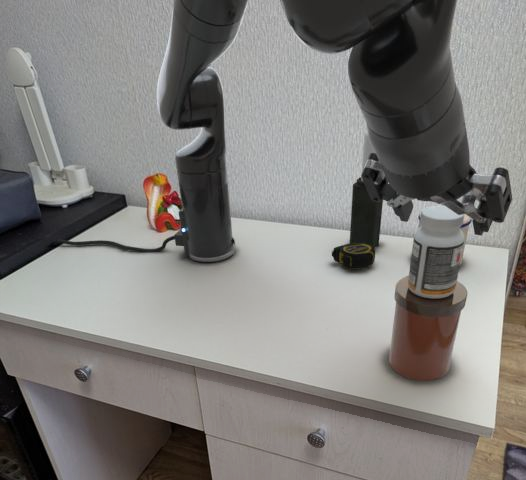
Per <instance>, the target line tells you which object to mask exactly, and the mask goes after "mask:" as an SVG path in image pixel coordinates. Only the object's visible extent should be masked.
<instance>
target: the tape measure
mask: <svg viewBox="0 0 526 480" xmlns="http://www.w3.org/2000/svg"><path fill="white" fill-rule="evenodd" d="M331 257H332V258H333V261H334V262H336V263H339V264H340V265H341V266H342V267H344V268H346V269H348V270H349V269H350V270H364V269H367V268H370V267H372V266H373V265H374V263H375V260H376V248H374V247H373V246H372V245H371V244H367V243H364V242H354V243H350V242H349V243H346V244H342V245H339V246H335V247H334V248H333V249H332V250H331Z"/></svg>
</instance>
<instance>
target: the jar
mask: <svg viewBox="0 0 526 480" xmlns="http://www.w3.org/2000/svg"><path fill="white" fill-rule="evenodd" d="M408 277H409V275H406V276H404V277H402V278H401V279H399V280H398V281H397V282H396V284H395V288H394V295H393V296H394V301H395V306H394V307H395V309H394V315H393V324H392V332H391V338H390V339H391V340H390V348H389V356H388V363H389V365H390V367H391V368H392V370H393V371H394V372H395V373H397V374H398V375H401V376H402V377H404V378H406V379H410V380H415V381H421V382H422V381H423V382H425V381H426V382H428V381H434V380H438V379H441V378H443V377H444V376H445V375H446V374H447V373H448V371H449V370H450V365H451V361H452V357H453V351H454V346H455V341H456V337H457V334H458V333H457V332H458V328H459V324H460V319H461V314H462V311H463V310H464V308H465V307H466V303H467V298H468V289H467V288H466V286H465V285H464V284H463V283H462V282H460V281H459V280H457V283H456V288H455V291H454V292H453V293H452V294H451V295H450V296H447V297H445V298H440V299H429V298H424V297H420V296H418V295H416V294H414V293H413V292H411V291H410V289H409V287H408Z"/></svg>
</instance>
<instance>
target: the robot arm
mask: <svg viewBox="0 0 526 480" xmlns="http://www.w3.org/2000/svg"><path fill="white" fill-rule="evenodd" d="M172 3H173V4H172V13H171V21H170V30H169V35H168V42H167V46H166V49H165V54H164V56H163V57H164V58H163V60H162V64H161V68H160V71H159V75H158V79H157V86H156V104H157V112H158V115H159V117H160V120H161V121H162V122H163V124H164V125H165V126H166V128H169V129H171V130H173V131H185V130H186V131H187V130H193V129H200V132H199V134H198V135H197V136H196V138H194V139H193V140H192V141H191V142H190V143H188V144H187V145H185V146H183V147H182V148H180V149H179V150H178V151H177V152H176V153H175V157H174V160H175V166H176V175H177V181H178V188H179V194H180V202H181V209H180V210H179V211H178V217H179V224H180V229H179V230H178V231H177V232H176V233H174V235H172V236H169V237H167V238H165V240H163V242H162V245H161V246H159V247H157V248H142V247H137V246H129V245H124V244H121V243H118V242H115V241H112V240H102V239H101V240H99V239H98V240H85V241H83V240H82V241H71V240H66V239H62V238H61V239H60V238H57V239H58V240H57V242H50V241H49V242H48V243H47V244H46V247H52V245H54V244H56V243H58V244H64V245H70V246H87V245H88V246H90V245H109V246H113V247H117V248H119V249H122V250H126V251H134V252H140V253H159V252H161V251H163V250H165V248H166V247H167V244H168V243H169V242H171V241H175V246H177V247H183V250H184V258H189V259H191V260H193V261H195V262H199V263H215V262H220V261H225V260H226V259H228V258H230V257H232V256H233V255H234V254H235V246H236V242H235V238H234V237H233V228H232V218H231V217H232V216H231V203H230V202H231V201H230V191H229V181H228V170H227V169H228V168H227V159H226V158H227V157H226V156H227V142H226V141H227V140H226V138H227V137H226V120H225V119H226V118H225V96H224V88H223V84H222V80H221V77H220V76H219V73H218V72H217V70H216V69H215V68H213V67H211V65H213V64H214V63H215V62H216V61H217V60H218V59H219V58H221V57H222V56H223V55H224V53H226V52H227V50H228V49H230V47H231V45H232V44H233V43H234V42H235V40H236V38H237V36H238V34H239V31H240V29H241V25H242V23H243V19H244V16H245V13H246V10H247V7H248V5H249V0H173V2H172ZM279 3H280V5H281V9H282V11H283V13H284V16H285V18H286V21H287V22H288V25H289V27H290V28H291V30H292V31H293V33H294V34H295V36H296V37H297V38H298V39H299V41H301V42H302V43H303V44H304V45H305V46H307V48H309V49H310V50H313V51H315V52H318V53H321V54H327V55H337V54H341V53H343V52H346V51H348V50H350V49H351V50H350V51H349V55H348V59H347V64H346V72H347V77H348V82H349V86H350V88H351V90H352V93H353V95H354V98H355V100H356V103H357V105H358V107H359V110H360V112H361V114H362V116H363V119H364V121H365V124H366V128H367V129H366V130H368V134H369V138H370V141H371V143H372V146H373V148H374V150H375V153H371V154H370V155H369V158H368V160H367V162H366V165H365V167H364V170H363V172H362V171H361V175H360V177H362V179H363V182H364V184H365V186H366V189H367V191H368V194H369V196H370V198H371V200H372V201H374V202H381V199H382V200H383V201H386V205H387V206H388V207H390V208H392V210H393V212H394V214H395V215H396V216H397V217H398V218H399V220H400V222H405V223H407V222H409V220H410V217H411V215H412V212H413V210H414V203H413V201H414V200H416V201H421V202H431V203H435V204H437V205H439V204H443V205H445V206H446V207H448V208H449V209H450V210H452V211H453V212H455V213H456V214H458V215H463V214H466V215H467V216H469V217H470V218H471V219H472V221H471V223H472V227H473V233H474V235H476V236H483V235H484V233H488V232H489V231H490V229H491V227H492V224H493V222H494V223H498V224H501V223H504V222H505V219H506V217H507V214H508V211H509V209H510V207H511V205H512V202H513V193H512V186H511V180H510V179H511V178H510V173H509V172H510V171H509V170H508V169H507V168H505V167H500V166H499V167H496V168H494V170H493V173H492V174H481V173H477V171H476V169H475V168H473V166H472V165H471V160H470V158H471V156H470V154H471V153H470V145H469V140H468V139H469V137H468V131H467V126H466V119H465V112H464V105H463V101H462V96H461V93H460V91H459V88H458V85H457V83H456V77H455V72H454V65H453V59H452V51H451V39H452V35H453V26H454V20H455V14H456V9H457V4H458V0H279ZM458 199H459V200H460V201H459V200H458ZM476 201H477V202H479V203H478V205H477V208H476V206H475V203H476Z"/></svg>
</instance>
